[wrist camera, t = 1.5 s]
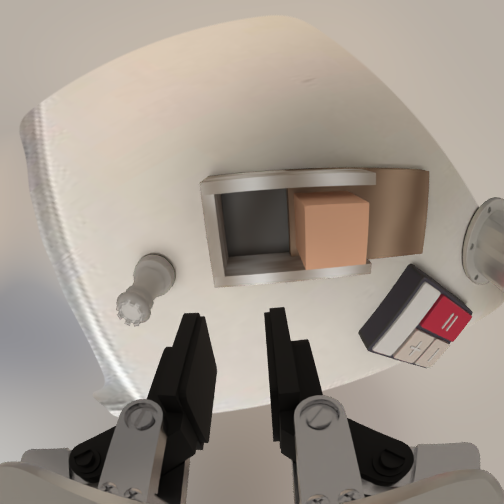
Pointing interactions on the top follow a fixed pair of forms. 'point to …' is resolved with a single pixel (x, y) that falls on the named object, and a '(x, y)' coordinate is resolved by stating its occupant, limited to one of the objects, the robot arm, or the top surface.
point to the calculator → (415, 320)
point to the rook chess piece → (145, 289)
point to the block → (331, 229)
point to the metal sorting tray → (283, 220)
